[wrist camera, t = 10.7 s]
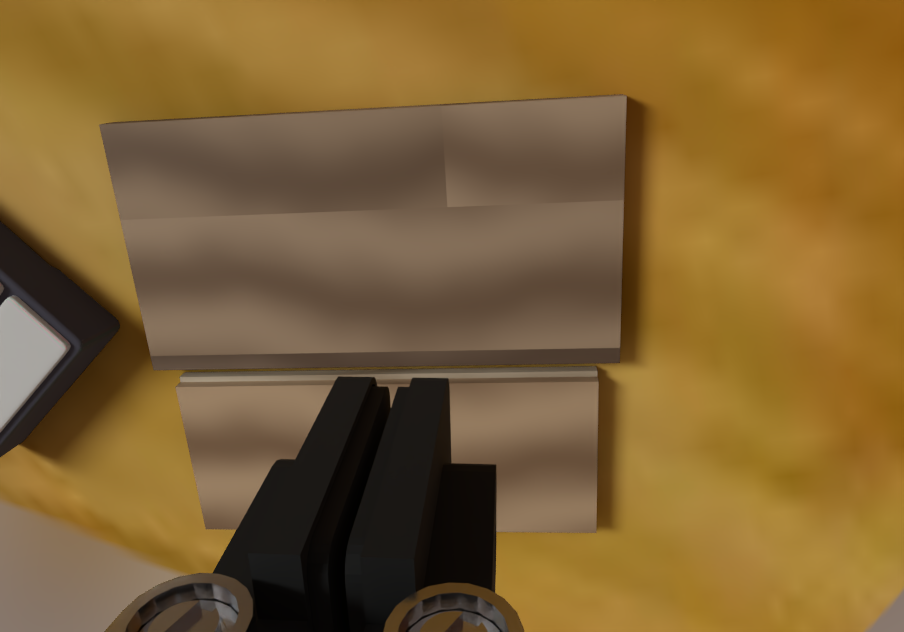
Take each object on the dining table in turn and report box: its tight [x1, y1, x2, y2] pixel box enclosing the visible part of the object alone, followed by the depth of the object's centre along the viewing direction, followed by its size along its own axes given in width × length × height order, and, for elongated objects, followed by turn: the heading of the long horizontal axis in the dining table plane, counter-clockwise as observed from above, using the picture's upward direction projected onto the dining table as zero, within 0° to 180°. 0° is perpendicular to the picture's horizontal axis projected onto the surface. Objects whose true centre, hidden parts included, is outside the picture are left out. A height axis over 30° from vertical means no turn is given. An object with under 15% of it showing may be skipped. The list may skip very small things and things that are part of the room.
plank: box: [176, 366, 599, 533], centre depth 38 cm, size 9×22×1 cm, turn 93°
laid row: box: [99, 94, 627, 370], centre depth 34 cm, size 12×24×1 cm, turn 93°
